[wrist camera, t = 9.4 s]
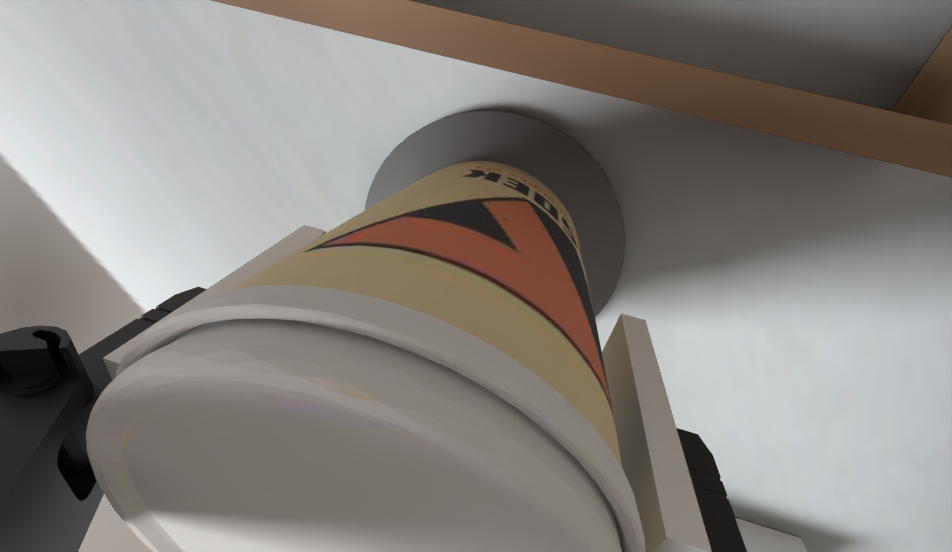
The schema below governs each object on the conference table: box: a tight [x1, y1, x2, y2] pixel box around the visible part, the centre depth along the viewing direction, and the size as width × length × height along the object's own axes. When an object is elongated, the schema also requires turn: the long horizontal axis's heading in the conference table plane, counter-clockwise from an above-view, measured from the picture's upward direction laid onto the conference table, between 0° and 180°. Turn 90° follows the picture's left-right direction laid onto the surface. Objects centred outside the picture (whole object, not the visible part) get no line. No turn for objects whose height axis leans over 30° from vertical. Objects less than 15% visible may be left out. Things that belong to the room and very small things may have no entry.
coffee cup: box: [86, 161, 645, 552], centre depth 11 cm, size 9×9×12 cm
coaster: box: [365, 110, 625, 316], centre depth 17 cm, size 11×11×1 cm
